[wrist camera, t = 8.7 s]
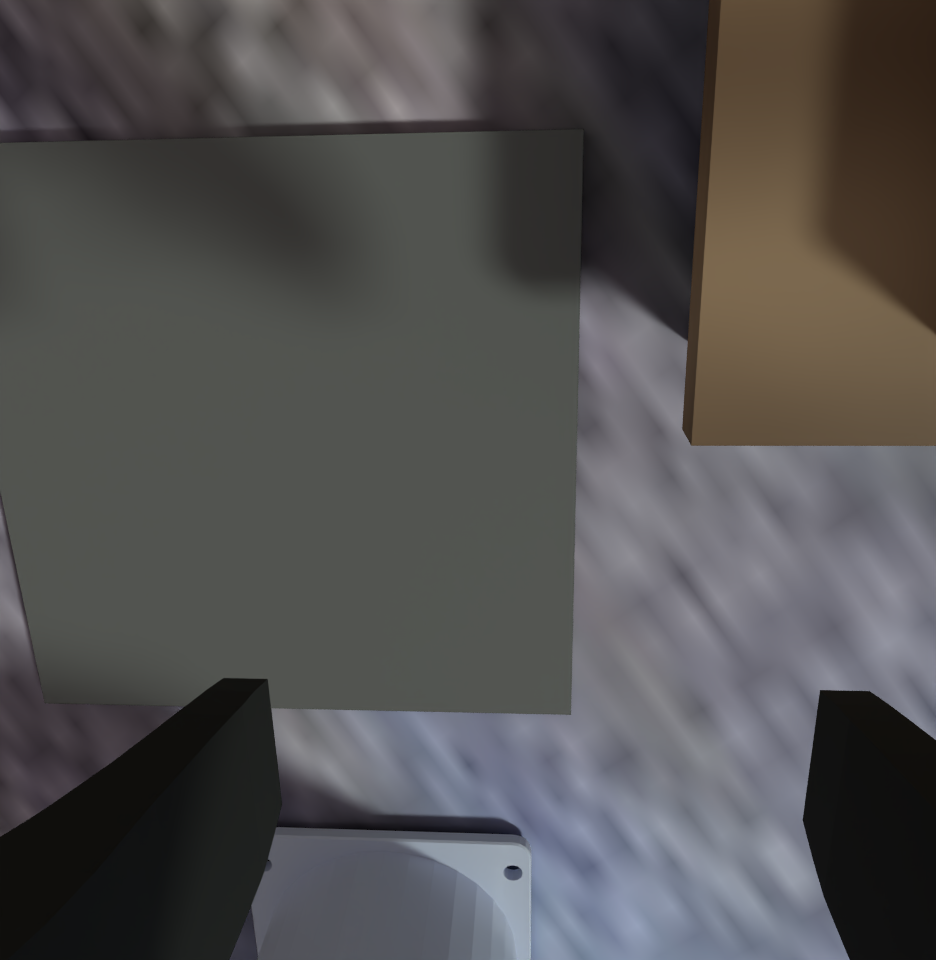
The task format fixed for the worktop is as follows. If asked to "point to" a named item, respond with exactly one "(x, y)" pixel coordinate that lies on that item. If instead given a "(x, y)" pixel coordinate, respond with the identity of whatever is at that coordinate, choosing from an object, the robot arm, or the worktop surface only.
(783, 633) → the worktop surface
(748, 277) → the lid
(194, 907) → the robot arm
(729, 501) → the worktop surface
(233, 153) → the mat
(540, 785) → the worktop surface
